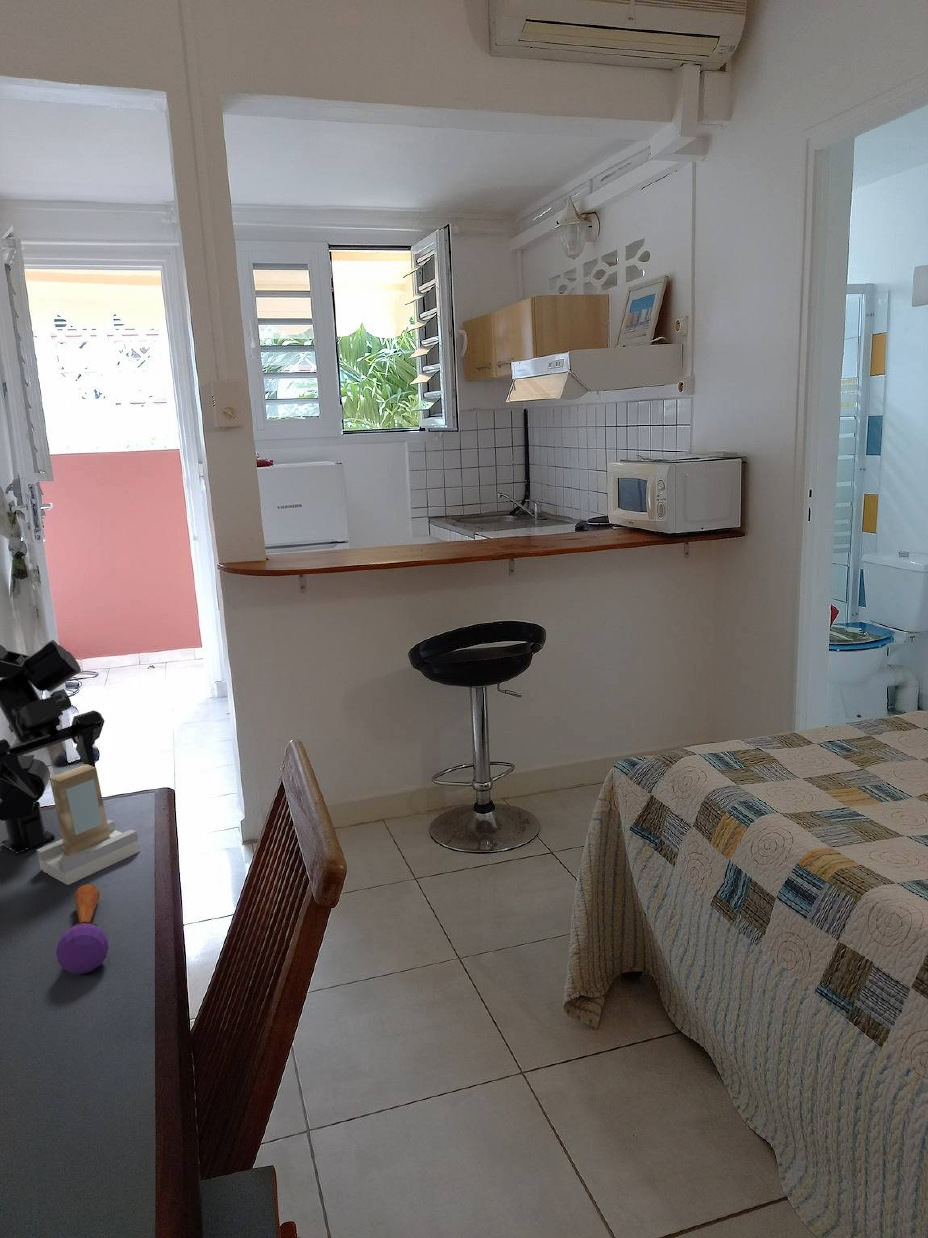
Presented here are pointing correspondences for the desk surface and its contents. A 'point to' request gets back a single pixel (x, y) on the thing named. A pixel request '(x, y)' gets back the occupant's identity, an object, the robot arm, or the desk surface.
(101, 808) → the beige block with panel
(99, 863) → the ledge
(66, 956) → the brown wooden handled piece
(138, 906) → the desk surface
